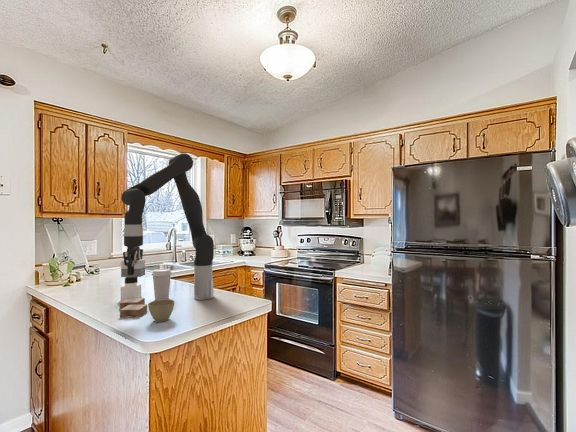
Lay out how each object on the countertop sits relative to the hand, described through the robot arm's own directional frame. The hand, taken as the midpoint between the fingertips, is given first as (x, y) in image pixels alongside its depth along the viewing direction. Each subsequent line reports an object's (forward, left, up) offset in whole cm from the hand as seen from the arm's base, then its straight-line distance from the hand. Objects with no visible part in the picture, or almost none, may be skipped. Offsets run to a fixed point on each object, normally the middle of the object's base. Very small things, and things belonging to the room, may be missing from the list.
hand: (133, 273), depth 135 cm
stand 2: (0, 0, -17) cm, 17 cm away
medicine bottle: (+13, -26, -18) cm, 34 cm away
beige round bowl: (-15, +9, -18) cm, 25 cm away
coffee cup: (-3, -25, -18) cm, 30 cm away
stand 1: (+6, -12, -17) cm, 22 cm away
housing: (0, 0, -1) cm, 1 cm away
